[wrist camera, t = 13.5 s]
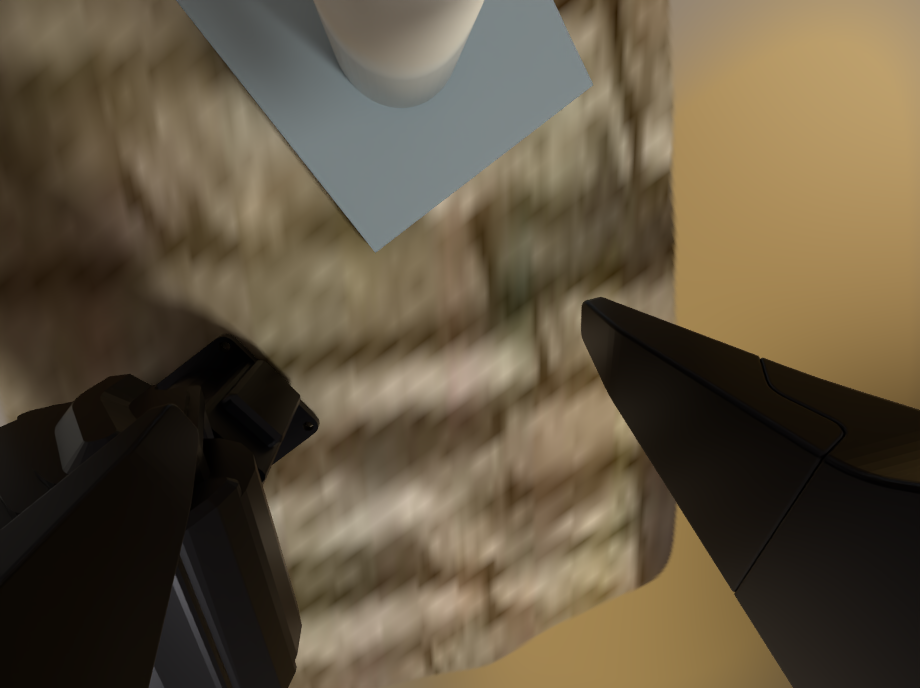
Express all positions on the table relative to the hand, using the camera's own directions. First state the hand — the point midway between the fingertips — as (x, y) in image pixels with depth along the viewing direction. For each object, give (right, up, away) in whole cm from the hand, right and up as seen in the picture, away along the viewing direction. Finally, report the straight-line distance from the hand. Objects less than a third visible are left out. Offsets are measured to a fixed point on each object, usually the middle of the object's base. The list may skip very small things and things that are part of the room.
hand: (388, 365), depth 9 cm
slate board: (-1, +13, +8) cm, 15 cm away
